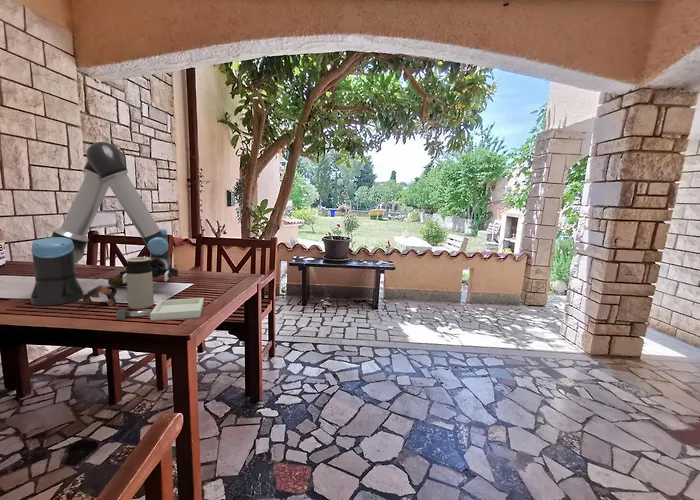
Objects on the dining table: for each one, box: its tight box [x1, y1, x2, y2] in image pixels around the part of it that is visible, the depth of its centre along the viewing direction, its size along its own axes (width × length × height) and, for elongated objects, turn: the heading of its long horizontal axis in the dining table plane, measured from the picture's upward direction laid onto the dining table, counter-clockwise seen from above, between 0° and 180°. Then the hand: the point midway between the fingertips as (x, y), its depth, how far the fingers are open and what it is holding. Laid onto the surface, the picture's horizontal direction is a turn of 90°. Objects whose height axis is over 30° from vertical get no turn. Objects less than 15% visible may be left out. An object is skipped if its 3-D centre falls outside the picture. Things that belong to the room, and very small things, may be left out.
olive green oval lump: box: [107, 273, 127, 288], centre depth 147 cm, size 8×13×8 cm, turn 74°
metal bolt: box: [116, 308, 152, 320], centre depth 112 cm, size 9×3×3 cm, turn 109°
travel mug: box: [125, 256, 155, 310], centre depth 122 cm, size 8×8×18 cm
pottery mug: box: [81, 285, 118, 307], centre depth 124 cm, size 12×10×8 cm
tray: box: [149, 297, 205, 322], centre depth 118 cm, size 15×15×2 cm
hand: (145, 278), depth 125 cm, fingers open, 13 cm apart
